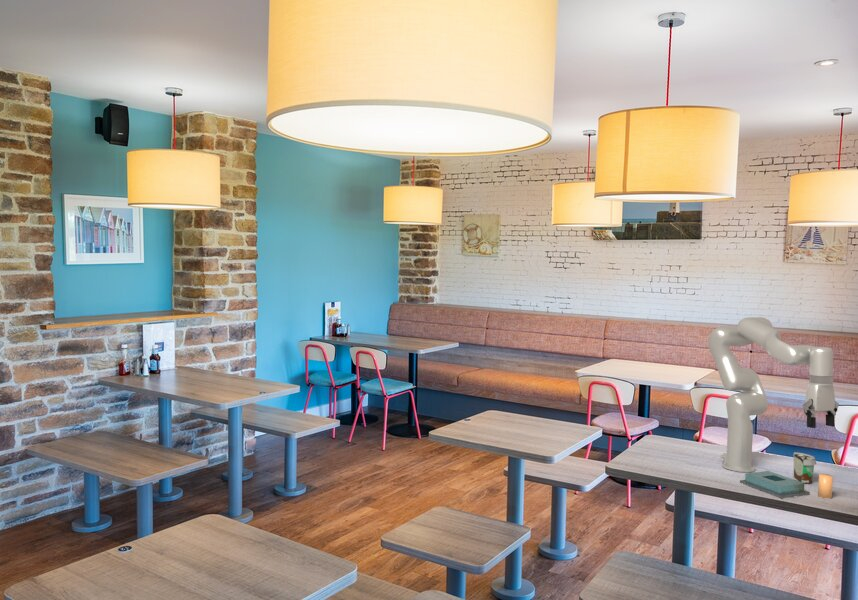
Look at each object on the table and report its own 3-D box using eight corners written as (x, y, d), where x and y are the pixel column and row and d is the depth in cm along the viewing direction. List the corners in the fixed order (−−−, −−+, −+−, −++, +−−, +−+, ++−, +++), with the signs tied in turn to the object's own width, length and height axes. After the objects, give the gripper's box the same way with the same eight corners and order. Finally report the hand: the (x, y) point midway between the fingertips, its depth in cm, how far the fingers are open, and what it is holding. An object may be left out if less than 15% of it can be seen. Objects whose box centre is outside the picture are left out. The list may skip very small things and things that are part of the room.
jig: (739, 482, 261) (740, 472, 261) (766, 479, 266) (767, 469, 266) (781, 498, 243) (782, 487, 243) (809, 494, 248) (810, 484, 248)
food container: (820, 487, 258) (821, 461, 258) (802, 485, 259) (804, 460, 259) (808, 477, 270) (810, 453, 270) (792, 476, 271) (793, 451, 271)
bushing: (815, 495, 248) (816, 474, 247) (823, 494, 249) (824, 473, 249) (826, 499, 243) (827, 477, 243) (834, 498, 245) (835, 476, 245)
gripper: (828, 378, 254) (828, 423, 254) (794, 380, 248) (794, 426, 248) (847, 380, 247) (846, 427, 247) (813, 382, 241) (812, 430, 241)
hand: (820, 426), depth 248 cm, fingers open, 9 cm apart
